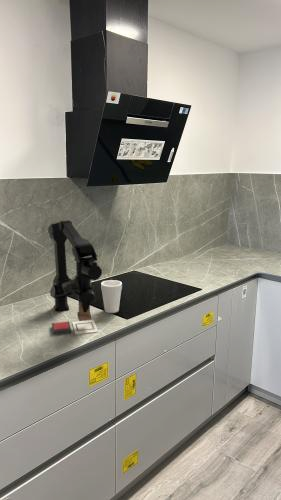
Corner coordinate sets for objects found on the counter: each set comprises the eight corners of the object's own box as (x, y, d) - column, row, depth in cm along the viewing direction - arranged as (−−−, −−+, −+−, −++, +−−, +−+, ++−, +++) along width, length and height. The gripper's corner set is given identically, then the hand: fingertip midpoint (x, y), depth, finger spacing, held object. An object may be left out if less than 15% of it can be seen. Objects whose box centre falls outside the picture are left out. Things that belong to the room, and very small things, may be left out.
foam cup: (103, 315, 174) (103, 287, 171) (99, 307, 183) (99, 281, 180) (124, 313, 177) (124, 285, 174) (119, 305, 185) (119, 279, 182)
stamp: (77, 316, 162) (77, 298, 160) (89, 315, 164) (89, 297, 162) (79, 321, 158) (78, 302, 156) (91, 319, 159) (91, 301, 157)
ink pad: (51, 326, 162) (51, 322, 161) (69, 324, 164) (68, 320, 163) (53, 334, 154) (52, 330, 154) (71, 332, 156) (70, 328, 156)
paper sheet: (72, 322, 166) (72, 321, 166) (93, 320, 168) (93, 319, 168) (75, 334, 155) (75, 333, 154) (98, 332, 157) (98, 331, 157)
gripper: (61, 268, 163) (62, 304, 166) (65, 282, 145) (66, 321, 149) (87, 266, 166) (88, 301, 169) (95, 279, 148) (95, 318, 152)
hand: (84, 310), depth 160 cm, fingers closed on stamp, 4 cm apart
